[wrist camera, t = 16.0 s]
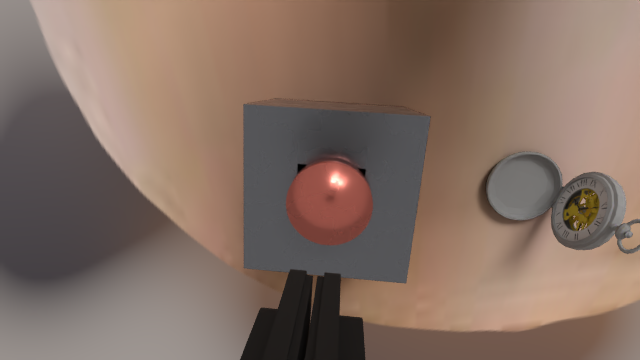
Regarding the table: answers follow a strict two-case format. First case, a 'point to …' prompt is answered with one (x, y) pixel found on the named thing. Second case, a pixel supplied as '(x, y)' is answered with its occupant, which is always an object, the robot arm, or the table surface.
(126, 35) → the table surface
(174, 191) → the table surface
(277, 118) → the block
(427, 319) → the table surface
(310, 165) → the lynch pin
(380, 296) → the table surface
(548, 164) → the pocket watch
